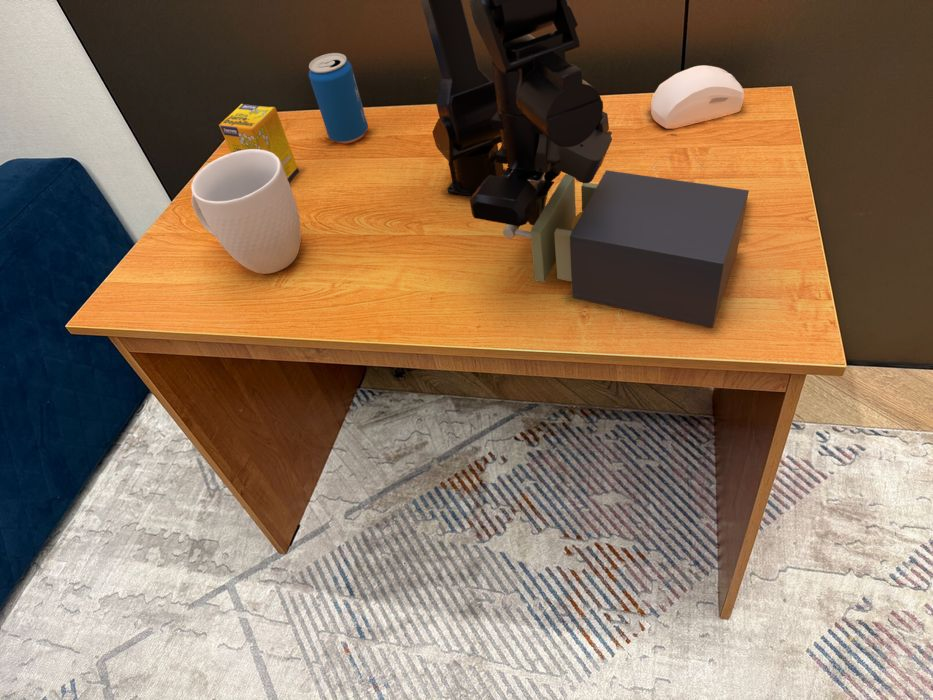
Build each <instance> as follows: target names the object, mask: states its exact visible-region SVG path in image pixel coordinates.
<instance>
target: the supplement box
mask: <svg viewBox="0 0 933 700" xmlns="http://www.w3.org/2000/svg"><path fill="white" fill-rule="evenodd" d="M281 121H282V120H281V118H280V116H279V113H278V110H277V108H276V107H275V106H262V105H253V104H246V103H241V104H240V105H238V107H237V108H235V110H233V111H232V112H231V113H230V114H229V115H228V116H227V117H226V118H224V120H223V121H221V122H220V123H219V124H218V126H219V129H220V131H221V134H222V135H223V138H224V140H225V142H226V145H227V147H228V149H229V151H230V153H233V152H237V151H241V150H249V149H259V150H266V151H269V152H271V153H273V154H275V155H276V156H277V157H278V158H279V160H280V162H281V164H282V167H283V170H284V172H285V174H286V177H287V180H288V181H289V183H291V181H292V180H293V179H294V178H295V177H296V176H297V174H299V172H300V171H299V167H298V165H297V162H296V159H295V157H294V154H293V151H292V148H291V145H290V144H289V140H288V138H287V137H288V136H287V135H286V132H285V129H284V126H283V124H282V122H281Z"/></svg>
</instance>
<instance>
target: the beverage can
mask: <svg viewBox="0 0 933 700" xmlns="http://www.w3.org/2000/svg"><path fill="white" fill-rule="evenodd" d="M308 69H309V71H308V78H309V81H310V84H311V87H312V90H313V93H314V96H315V99H316V103H317V105H318V109H319V112H320V115H321V118H322V121H323V124H324V128H325V131H326V133H327V136H328V138H329V139H330V140H331V141H333V142H336V143H338V144H350V143H354V142H356V141H359V140H360V139H361V138H363V136H364V135H365V134H366V132H367V131H368V129H369V125H368V120H367V117H366V114H365V110H364V106H363V103H362V99H361V96H360V91H359V88H358V85H357V82H356V78H355V74H354V71H353V66H352V64H351V62H350V61H349V60H348V59H347V56H346V55H345V54H343V53H339V52H330V53H326V54H323V55H320V56H319V55H318V56H317V57H315V58H314V59H312V60H311V61H310V62H309V65H308Z"/></svg>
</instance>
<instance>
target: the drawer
mask: <svg viewBox="0 0 933 700" xmlns="http://www.w3.org/2000/svg"><path fill="white" fill-rule="evenodd" d="M575 180H576V178H574V177H572V176H570V175H568V174H566V173H564V174H563V177H562V179H561V180H560V181H559V183H558V185H557V187H556V188H555V189H554V192H553V194H552V195H551V197H550V199H549V200H548V202H546V204H545V208H544V210H543V211H542V213H541V215H540V216H539V218H538V220H537V221H536V223H535V225H534V226H533V225H532V228H531V229H530V230H524V229H520V227H521V226H514V225H509V224H505V225H506V226H505V227H504V228H503V230H502V234H503V236H504V237H505V238H506V239H513V238H514V237H519V238H524V239H530V242H531V251H532V252H531V253H532V262H533V272H534V281H537V282H542V283H545V282H546V280H547V279H548V277H549V275H550V273H551V271H552V269H553V267H554V265H556V278H557V279H558V280H563V281H567V282H571V283H572V279H571V255H570V235H571V233H572V222H573V219H574V218H575V217H576V216H577V212H576V211H577V209H576V208H577V207H576V181H575ZM598 184H599V183H591V182H590V183H582V184H581V191H580V192H581V212H582V211H584V209H585V207H586V206H587V204H588V202H589V200H590V198H591V197H592V195H593V193H594V191H595V189H596V188H597V186H598Z"/></svg>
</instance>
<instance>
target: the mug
mask: <svg viewBox="0 0 933 700" xmlns="http://www.w3.org/2000/svg"><path fill="white" fill-rule="evenodd" d="M190 187H191V188H190V189H191V193H192V194H191V197H190V198H191V205H192V209H193V212H194V214H195V216H196V218H197V220H199V222H200V224H201V225H202V227H203V228H204V229H205V230H206V231H207V232H208V233H210V234H211V235H212V236H214V237H215V239H217V241H218V242H219V244H220V245H221V247H222V248H223V249H224V250H225V252H227V253H228V254H229V255H230V256H231V257H232V258H233V259H234V261H236V262H237V263H239V264H240V265H241V266H242V267H244V268H246V269H247V270H249V271H251V272H254V273H256V274H261V275H268V274H274V273H277V272H280V271H283V270H284V269H287V268H288V267H290V265H291V264H293V263H294V261H295V260H296V258H297V256H298V255H299V251H300V246H301V241H302V228H301V227H302V226H301V225H302V223H301V219H300V218H301V217H300V214H299V208H298V205H297V202H296V197H295V195H294V192H293V190H292V188H291V184H290V182H289V181H288V180H287V177H286V174H285V172H284V170H283V167H282V164H281V162H280V160H279V158H278V157H277V156H276V155H275V154H273V153H271V152H269V151H266V150H259V149H249V150H241V151H237V152H233V153H231V152H230V153H228V154H225V155H222V156H220V157H218V158H216V159H214V160H212V161H211V162H209V163H207V164H206V165H205V166H203V167H202V168H201V169H200V170H199V171H198V172H197V173H196V175H195V176H194V177H193V179H192V181H191V186H190Z"/></svg>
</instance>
